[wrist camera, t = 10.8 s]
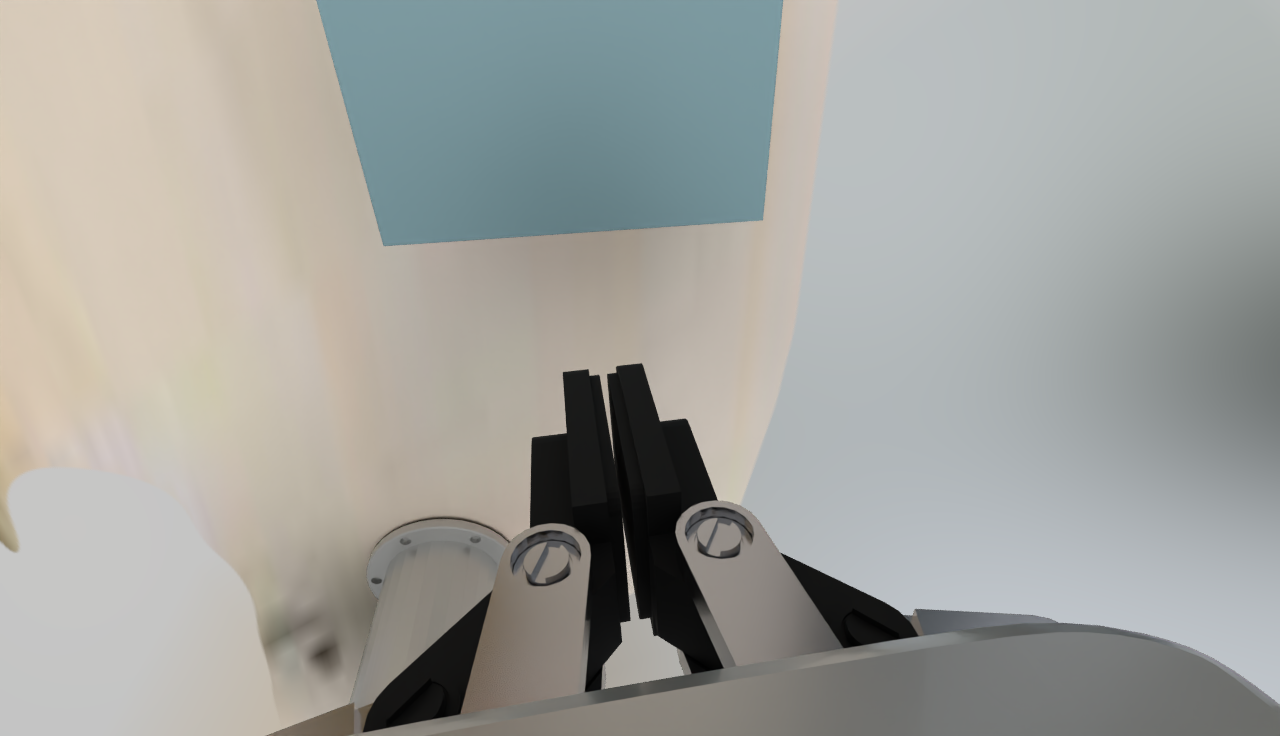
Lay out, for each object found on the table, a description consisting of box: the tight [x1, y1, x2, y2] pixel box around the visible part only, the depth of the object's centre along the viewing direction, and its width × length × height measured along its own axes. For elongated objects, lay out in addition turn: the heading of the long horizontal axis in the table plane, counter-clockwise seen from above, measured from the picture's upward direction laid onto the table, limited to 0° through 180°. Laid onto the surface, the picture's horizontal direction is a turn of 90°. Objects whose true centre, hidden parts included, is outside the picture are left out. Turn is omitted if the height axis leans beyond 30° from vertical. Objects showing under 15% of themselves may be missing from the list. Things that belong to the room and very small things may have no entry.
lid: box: [316, 0, 783, 246], centre depth 24 cm, size 16×18×1 cm
